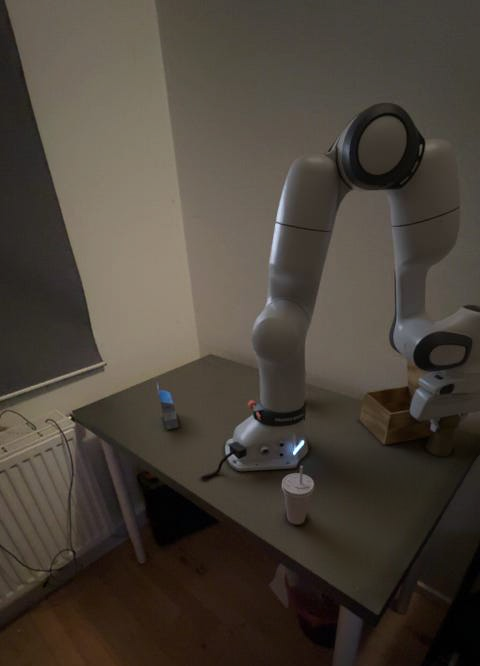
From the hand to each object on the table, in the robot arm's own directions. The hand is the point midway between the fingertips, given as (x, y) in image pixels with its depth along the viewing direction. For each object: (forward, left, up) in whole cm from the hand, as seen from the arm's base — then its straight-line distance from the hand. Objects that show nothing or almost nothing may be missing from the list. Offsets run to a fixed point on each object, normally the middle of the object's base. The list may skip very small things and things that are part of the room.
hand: (444, 428), depth 88 cm
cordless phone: (-68, +35, -6) cm, 77 cm away
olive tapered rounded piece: (0, 0, -6) cm, 7 cm away
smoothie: (-44, -13, -6) cm, 46 cm away
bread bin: (-5, +12, -6) cm, 14 cm away
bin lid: (0, +12, +11) cm, 16 cm away
